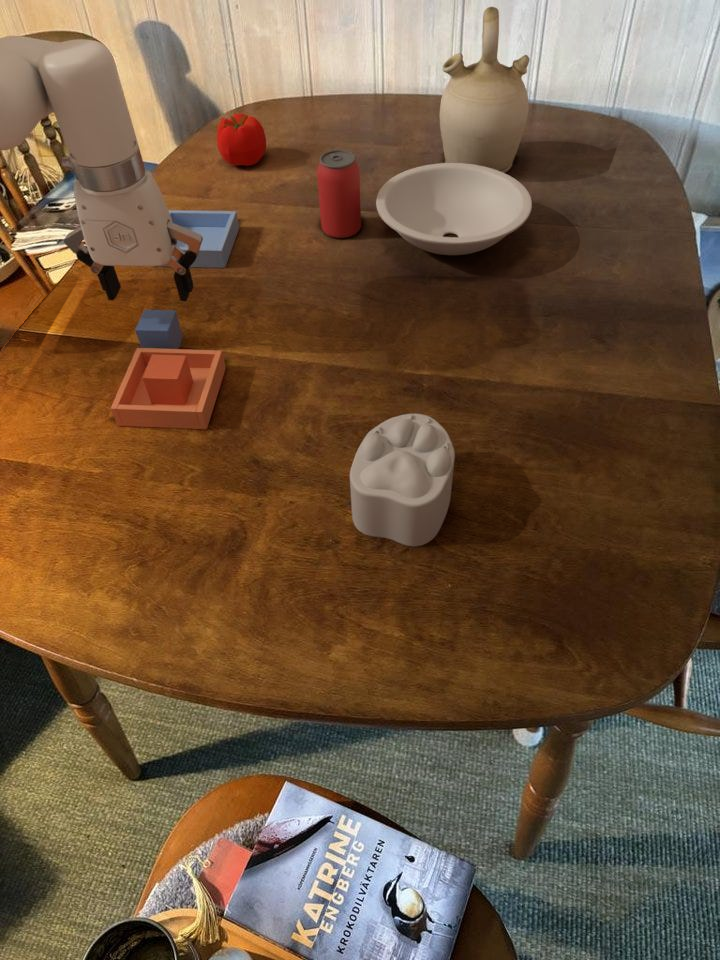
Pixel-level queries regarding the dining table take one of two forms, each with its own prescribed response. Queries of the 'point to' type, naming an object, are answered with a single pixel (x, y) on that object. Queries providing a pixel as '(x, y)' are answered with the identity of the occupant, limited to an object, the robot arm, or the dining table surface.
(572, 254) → the dining table surface
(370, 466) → the lumpy-topped squat cylinder
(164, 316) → the blue block
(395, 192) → the vessel sink basin
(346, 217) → the beer can
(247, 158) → the tomato
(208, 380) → the terracotta tray
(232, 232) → the blue tray
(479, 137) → the jug
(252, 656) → the dining table surface
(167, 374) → the terracotta block
